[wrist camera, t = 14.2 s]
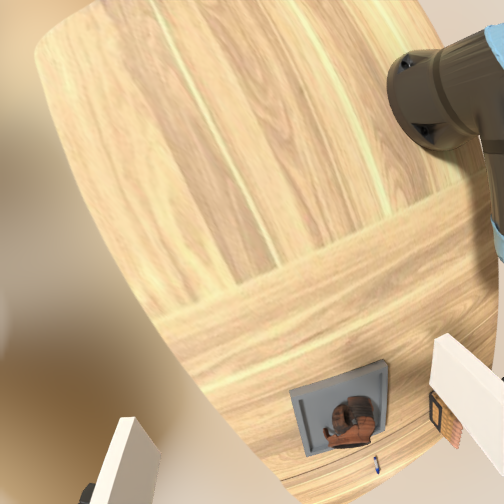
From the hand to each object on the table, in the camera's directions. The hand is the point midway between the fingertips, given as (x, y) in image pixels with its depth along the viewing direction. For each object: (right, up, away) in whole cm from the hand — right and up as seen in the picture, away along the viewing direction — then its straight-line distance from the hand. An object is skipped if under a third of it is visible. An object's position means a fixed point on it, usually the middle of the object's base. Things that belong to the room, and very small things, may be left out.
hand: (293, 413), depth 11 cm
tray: (+14, -21, +34) cm, 42 cm away
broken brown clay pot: (+14, -21, +33) cm, 42 cm away
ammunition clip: (+37, -26, +37) cm, 59 cm away
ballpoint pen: (+28, -45, +41) cm, 67 cm away
